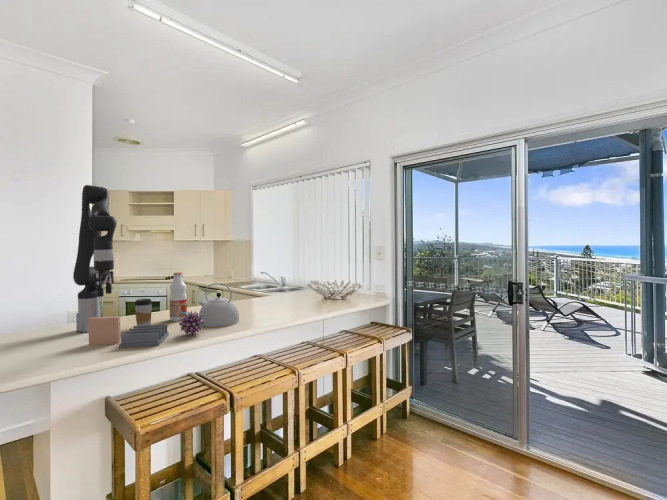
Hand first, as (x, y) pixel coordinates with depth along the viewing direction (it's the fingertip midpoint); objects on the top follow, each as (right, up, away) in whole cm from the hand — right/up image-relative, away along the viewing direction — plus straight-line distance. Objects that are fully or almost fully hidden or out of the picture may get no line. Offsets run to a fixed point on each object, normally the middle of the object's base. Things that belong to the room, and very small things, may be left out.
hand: (104, 295), depth 155 cm
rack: (+16, -22, +4) cm, 28 cm away
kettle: (+37, -21, +42) cm, 60 cm away
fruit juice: (+12, -21, +47) cm, 53 cm away
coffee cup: (+2, -22, +29) cm, 36 cm away
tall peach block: (0, -22, +1) cm, 22 cm away
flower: (+33, -22, +15) cm, 43 cm away
